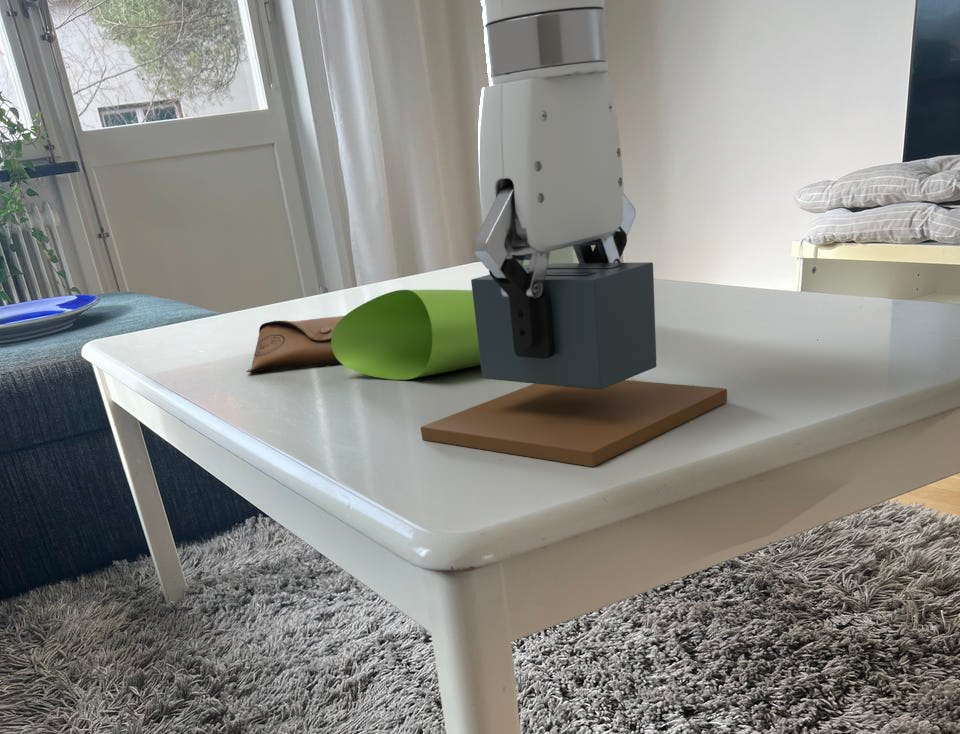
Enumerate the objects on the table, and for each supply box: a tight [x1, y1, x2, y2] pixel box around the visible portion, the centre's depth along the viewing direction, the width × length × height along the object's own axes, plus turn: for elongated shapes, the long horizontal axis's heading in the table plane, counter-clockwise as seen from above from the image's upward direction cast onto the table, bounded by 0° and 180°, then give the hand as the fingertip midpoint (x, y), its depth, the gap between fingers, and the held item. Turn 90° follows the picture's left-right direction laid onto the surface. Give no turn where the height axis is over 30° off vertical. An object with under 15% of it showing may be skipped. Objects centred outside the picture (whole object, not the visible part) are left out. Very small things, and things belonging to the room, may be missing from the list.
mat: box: [420, 379, 728, 468], centre depth 72 cm, size 16×16×1 cm
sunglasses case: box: [246, 315, 345, 373], centre depth 104 cm, size 18×7×7 cm
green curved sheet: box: [331, 289, 481, 381], centre depth 91 cm, size 8×12×20 cm
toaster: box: [470, 261, 658, 390], centre depth 69 cm, size 12×6×7 cm, turn 47°
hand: (568, 342), depth 69 cm, fingers closed on toaster, 6 cm apart
